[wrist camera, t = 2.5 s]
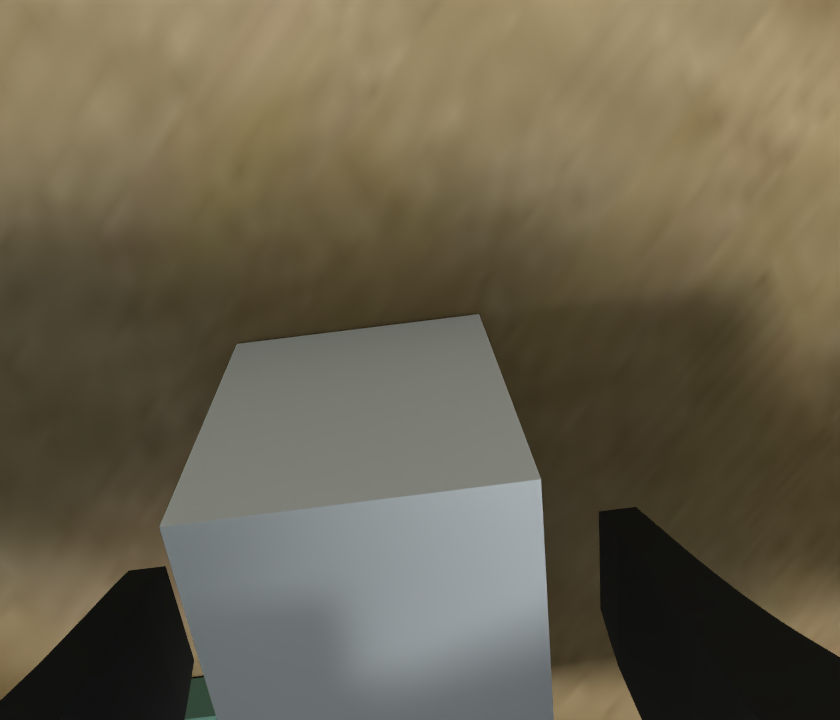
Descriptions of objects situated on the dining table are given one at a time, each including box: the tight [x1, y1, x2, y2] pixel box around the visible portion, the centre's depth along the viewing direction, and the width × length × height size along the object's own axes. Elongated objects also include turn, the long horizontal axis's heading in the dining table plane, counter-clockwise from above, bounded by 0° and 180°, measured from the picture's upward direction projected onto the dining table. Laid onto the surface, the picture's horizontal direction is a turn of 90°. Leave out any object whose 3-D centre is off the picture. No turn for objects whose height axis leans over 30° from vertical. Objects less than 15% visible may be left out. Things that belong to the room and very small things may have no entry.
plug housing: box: [159, 314, 554, 720], centre depth 12 cm, size 4×8×5 cm, turn 6°
